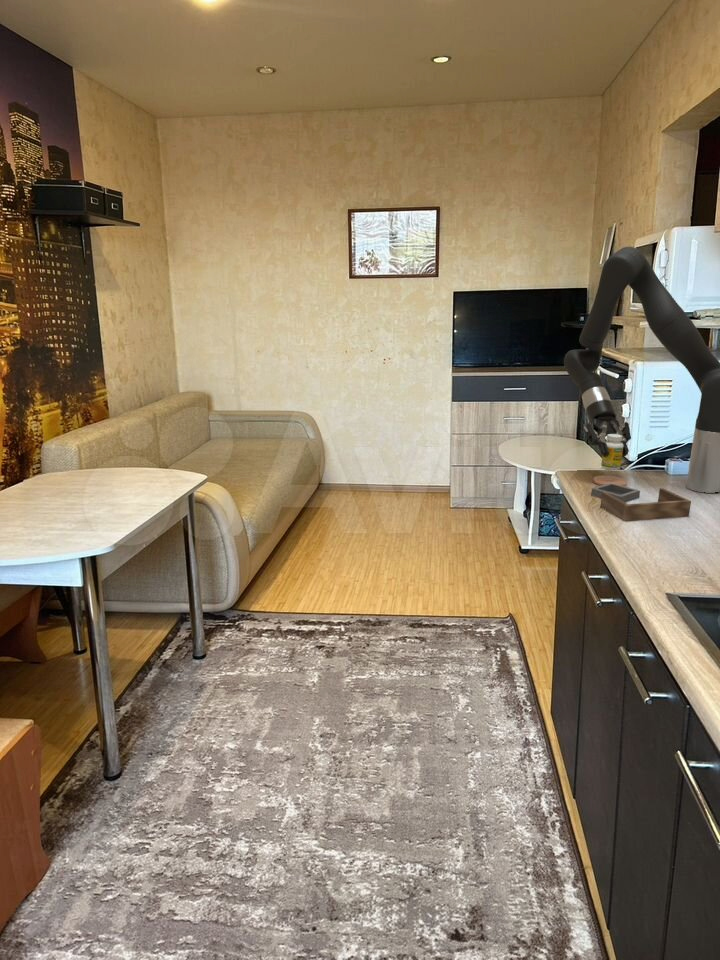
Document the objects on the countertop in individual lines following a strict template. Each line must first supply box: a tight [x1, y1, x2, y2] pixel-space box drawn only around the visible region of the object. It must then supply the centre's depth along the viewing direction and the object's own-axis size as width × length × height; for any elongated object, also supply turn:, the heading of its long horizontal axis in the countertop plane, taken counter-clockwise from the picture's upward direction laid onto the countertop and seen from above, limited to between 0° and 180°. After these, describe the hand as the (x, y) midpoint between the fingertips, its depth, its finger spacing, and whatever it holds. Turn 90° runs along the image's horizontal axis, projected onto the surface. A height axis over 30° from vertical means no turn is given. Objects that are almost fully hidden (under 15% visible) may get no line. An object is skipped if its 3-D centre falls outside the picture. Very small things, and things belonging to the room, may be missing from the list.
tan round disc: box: [593, 475, 628, 487], centre depth 197 cm, size 9×9×1 cm
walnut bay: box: [599, 487, 692, 522], centre depth 173 cm, size 18×11×4 cm, turn 103°
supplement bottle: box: [600, 433, 623, 471], centre depth 194 cm, size 5×5×10 cm
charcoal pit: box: [590, 483, 641, 503], centre depth 185 cm, size 9×9×2 cm
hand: (616, 455), depth 193 cm, fingers closed on supplement bottle, 5 cm apart
